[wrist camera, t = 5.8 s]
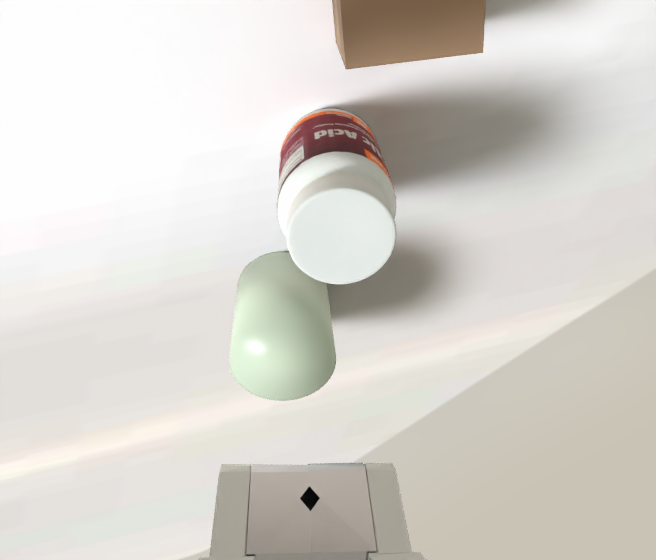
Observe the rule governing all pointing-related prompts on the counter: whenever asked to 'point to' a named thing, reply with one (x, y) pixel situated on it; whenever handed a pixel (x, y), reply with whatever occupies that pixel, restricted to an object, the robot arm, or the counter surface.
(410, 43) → the walnut cube
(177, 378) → the counter surface
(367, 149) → the pill bottle
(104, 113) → the counter surface
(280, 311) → the sage cylinder
